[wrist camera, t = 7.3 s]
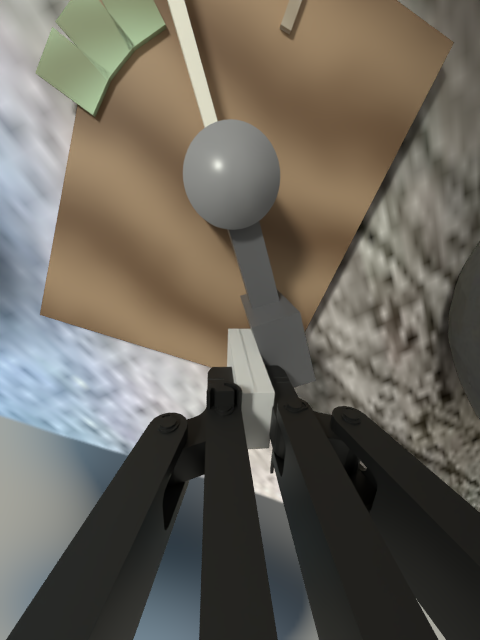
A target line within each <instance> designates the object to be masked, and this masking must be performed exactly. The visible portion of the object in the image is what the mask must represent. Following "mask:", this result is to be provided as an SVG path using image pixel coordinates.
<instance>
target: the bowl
mask: <svg viewBox="0 0 480 640" xmlns="http://www.w3.org/2000/svg"><path fill="white" fill-rule="evenodd" d="M448 340H449V344H450V348H451V353H452V357H453V361H454V365H455V368H456V371H457V374H458V377H459V379H460V382H461V385H462V387H463V389H464V391H465V393H466V395H467V398H468V400H469V402H470V404H471V406H472V408H473V410H474V411H475V413H476V415H477V417H478V418H479V419H480V241H479V243H478V244H477V246H476V247H475V249H474V250H473V252H472V253H471V255H470V256H469V258H468V260H467V261H466V263H465V265H464V267H463V268H462V271H461V273H460V276H459V278H458V281H457V283H456V287H455V291H454V295H453V299H452V303H451V307H450V311H449V324H448Z"/></svg>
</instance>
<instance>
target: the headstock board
mask: <svg viewBox="0 0 480 640" xmlns="http://www.w3.org/2000/svg"><path fill="white" fill-rule="evenodd" d="M184 1H185V5H186V8H187V12H188V16H189V19H190V23H191V27H192V30H193V34H194V37H195V41H196V45H197V48H198V52H199V56H200V59H201V63H202V67H203V70H204V74H205V78H206V81H207V85H208V88H209V92H210V96H211V99H212V103H213V107H214V110H215V114H216V118H217V121H221V120H228V119H233V120H240V121H244V122H246V123H249V124H251V125H253V126H254V127H256V128H257V129H259V130H260V131H261V132H262V133H263V134H264V135H265V136H266V137H267V138H268V140H269V141H270V142H271V144H272V146H273V148H274V149H275V152H276V154H277V157H278V161H279V166H280V186H279V191H278V194H277V197H276V200H275V202H274V204H273V206H272V207H271V209H270V210H269V212H268V213H267V214H266V215H265V216H264V217H263V218H262V219H261V220H259V222H260V226H261V230H262V234H263V238H264V242H265V246H266V250H267V253H268V257H269V261H270V265H271V269H272V273H273V277H274V281H275V285H276V289H277V290H278V291H279V292H280V293H281V294H282V295H283V296H284V297H285V298H286V299H287V300H288V301H289V302H290V303H291V304H292V305H293V306H294V307H295V308H296V309H297V310H298V311H299V312H300V314H301V319H302V323H303V327H304V332H305V331H306V329H307V327H308V325H309V323H310V321H311V319H312V317H313V315H314V313H315V311H316V309H317V307H318V305H319V303H320V301H321V300H322V298H323V296H324V294H325V292H326V290H327V288H328V286H329V284H330V282H331V280H332V278H333V276H334V274H335V272H336V270H337V268H338V267H339V265H340V263H341V261H342V259H343V257H344V255H345V253H346V251H347V249H348V247H349V245H350V243H351V241H352V239H353V237H354V235H355V234H356V232H357V230H358V228H359V226H360V224H361V222H362V220H363V218H364V216H365V214H366V212H367V210H368V208H369V206H370V204H371V203H372V201H373V199H374V197H375V195H376V193H377V191H378V189H379V187H380V185H381V183H382V181H383V179H384V177H385V175H386V173H387V171H388V170H389V168H390V166H391V164H392V162H393V160H394V158H395V156H396V154H397V152H398V150H399V148H400V146H401V144H402V142H403V140H404V138H405V137H406V135H407V133H408V131H409V129H410V127H411V125H412V123H413V121H414V119H415V117H416V115H417V113H418V111H419V109H420V107H421V106H422V104H423V102H424V100H425V98H426V96H427V94H428V92H429V90H430V88H431V86H432V84H433V82H434V80H435V78H436V76H437V74H438V73H439V71H440V69H441V67H442V65H443V63H444V61H445V59H446V57H447V55H448V53H449V51H450V49H451V47H452V45H453V43H454V42H453V41H451V40H450V39H449V38H447V37H446V36H444V35H443V34H442V33H440V32H439V31H438V30H436V29H435V28H434V27H432V26H431V25H429V24H428V23H427V22H425V21H424V20H423V19H421V18H420V17H419V16H417V15H416V14H415V13H413V12H412V11H410V10H409V9H408V8H406V7H405V6H404V5H402V4H401V3H400V2H398V1H397V0H184ZM55 22H56V23H57V24H58V25H59V27H60V28H61V29H62V30H63V31H64V32H65V33H66V35H67V36H68V37H69V38H70V39H71V40H72V41H73V43H74V44H75V45H76V46H75V45H74V44H73V43H72V42H70V41H69V40H68V39H67V38H65V37H64V36H63V35H62V34H60V33H59V32H58V31H56V30H55V29H54V28H53V27H52V30H51V32H50V35H49V38H48V40H47V43H46V46H45V49H44V51H43V54H42V57H41V59H40V62H39V65H38V67H37V70H36V74H37V75H38V76H40V77H41V78H42V79H44V80H45V81H46V82H48V83H49V84H51V85H52V86H53V87H55V88H56V89H57V90H59V91H60V92H61V93H63V94H64V95H66V96H67V97H68V98H70V99H71V100H72V101H74V102H75V103H76V104H78V106H77V111H76V117H75V123H74V128H73V134H72V139H71V145H70V150H69V156H68V161H67V167H66V173H65V178H64V184H63V189H62V195H61V200H60V206H59V211H58V217H57V223H56V228H55V234H54V239H53V245H52V250H51V256H50V261H49V267H48V273H47V278H46V284H45V289H44V295H43V300H42V306H41V311H40V315H42V316H46V317H49V318H52V319H55V320H59V321H62V322H65V323H69V324H72V325H75V326H78V327H82V328H85V329H88V330H91V331H95V332H98V333H101V334H104V335H108V336H111V337H114V338H117V339H121V340H124V341H127V342H130V343H134V344H137V345H140V346H144V347H147V348H150V349H153V350H157V351H160V352H163V353H166V354H170V355H173V356H176V357H179V358H183V359H186V360H189V361H192V362H196V363H199V364H202V365H205V366H209V367H227V351H228V329H250V326H249V323H248V320H247V316H246V313H245V310H244V307H243V304H242V300H241V297H240V296H241V295H244V294H247V293H246V290H245V287H244V283H243V280H242V277H241V273H240V270H239V267H238V263H237V260H236V257H235V253H234V250H233V247H232V244H231V240H230V237H229V234H228V230H227V229H223V228H219V227H216V226H214V225H212V224H210V223H209V222H207V221H206V220H205V219H203V218H202V217H201V216H200V215H199V214H198V213H197V212H196V210H195V209H194V208H193V206H192V205H191V203H190V201H189V199H188V196H187V194H186V191H185V187H184V181H183V164H184V159H185V156H186V153H187V150H188V148H189V146H190V144H191V142H192V141H193V139H194V138H195V137H196V135H197V134H198V133H199V132H200V131H201V130H203V129H204V125H203V121H202V118H201V114H200V111H199V107H198V104H197V101H196V97H195V94H194V90H193V87H192V83H191V80H190V77H189V73H188V70H187V66H186V63H185V60H184V56H183V53H182V49H181V46H180V42H179V39H178V36H177V32H176V29H175V25H174V22H173V18H172V15H171V12H170V8H169V5H168V1H167V0H71V1H70V2H69V3H68V5H67V6H66V7H65V9H64V10H63V12H62V13H61V14H60V16H59V17H58V19H57V20H56V21H55Z"/></svg>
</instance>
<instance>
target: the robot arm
mask: <svg viewBox="0 0 480 640" xmlns="http://www.w3.org/2000/svg"><path fill="white" fill-rule="evenodd" d="M270 440H271V443H272V447H273V449H272V458H271V467H270V473H273V471H274V468H275V472H276V476H277V480H278V484H279V488H280V491H281V495H282V499H283V503H284V507H285V511H286V514H287V518H288V522H289V526H290V530H291V534H292V538H293V541H294V545H295V549H296V553H297V557H298V561H299V564H300V568H301V572H302V576H303V580H304V584H305V588H306V591H307V595H308V599H309V603H310V606H311V610H312V614H313V618H314V622H315V626H316V630H317V633H318V637H319V640H438V638H437V636H436V635H435V633H434V631H433V629H432V627H431V625H430V623H429V622H428V620H427V618H426V616H425V614H424V613H423V611H422V609H421V607H420V605H421V606H422V607H423V609H424V610H425V611H426V613H427V614H428V615H429V617H430V618H431V619H432V621H433V622H434V624H435V625H436V626H437V628H438V629H439V630H440V632H441V633H442V634H443V636H444V637H445V639H446V640H480V513H479V512H478V511H477V510H476V509H475V508H474V507H472V506H471V505H470V504H469V503H468V502H467V501H465V500H464V499H463V498H462V497H461V496H460V495H458V494H457V493H456V492H455V491H454V490H453V489H451V488H450V487H449V486H448V485H447V484H446V483H444V482H443V481H442V480H441V479H440V478H439V477H437V476H436V475H435V474H434V473H433V472H432V471H430V470H429V469H428V468H427V467H426V466H425V465H423V464H422V463H421V462H420V461H419V460H418V459H416V458H415V457H414V456H413V455H412V454H411V453H409V452H408V451H407V450H406V449H405V448H403V447H402V446H401V445H400V444H399V443H398V442H396V441H395V440H394V439H393V438H392V437H391V436H389V435H388V434H387V433H386V432H385V431H384V430H382V429H381V428H380V427H379V426H378V425H377V424H375V423H374V422H373V421H372V420H371V419H370V418H368V417H367V416H366V415H365V414H364V413H362V412H361V411H359V410H357V409H354V408H352V407H347V406H340V407H337V408H335V409H334V410H333V412H332V415H328V414H323V413H318V412H315V411H313V410H312V408H311V407H310V405H309V404H308V403H307V402H305V401H304V400H302V399H299V398H298V396H297V394H296V392H295V390H294V388H293V386H292V384H291V383H290V380H289V378H288V376H287V374H286V372H285V370H283V369H282V368H281V367H280V366H278V365H270V366H265V365H264V363H263V360H262V358H261V355H260V353H259V350H258V347H257V344H256V342H255V339H254V337H253V334H252V331H251V329H228V351H227V367H212V368H211V369H210V370H209V372H208V389H207V407H206V409H205V411H204V412H203V413H201V414H200V415H198V416H196V417H194V418H191V419H187V420H186V418H185V417H184V416H183V415H181V414H178V413H165V414H161V415H159V416H158V417H156V418H154V419H153V420H152V421H151V422H150V424H149V425H148V427H147V428H146V430H145V431H144V433H143V434H142V436H141V437H140V439H139V440H138V442H137V443H136V445H135V446H134V448H133V449H132V451H131V452H130V454H129V455H128V457H127V459H126V460H125V461H124V463H123V464H122V466H121V467H120V469H119V470H118V472H117V474H116V475H115V477H114V478H113V480H112V481H111V483H110V484H109V486H108V487H107V489H106V490H105V492H104V493H103V495H102V496H101V498H100V499H99V501H98V502H97V504H96V505H95V507H94V508H93V510H92V511H91V513H90V514H89V516H88V517H87V519H86V520H85V522H84V523H83V525H82V526H81V528H80V529H79V531H78V532H77V534H76V535H75V537H74V538H73V540H72V541H71V543H70V544H69V546H68V548H67V549H66V550H65V552H64V553H63V555H62V556H61V558H60V559H59V561H58V562H57V564H56V565H55V567H54V568H53V570H52V571H51V573H50V574H49V576H48V578H47V579H46V580H45V582H44V583H43V585H42V586H41V588H40V589H39V591H38V593H37V594H36V596H35V597H34V599H33V600H32V602H31V603H30V604H29V606H28V608H27V609H26V611H25V612H24V614H23V615H22V617H21V618H20V620H19V621H18V623H17V624H16V626H15V627H14V629H13V630H12V632H11V633H10V635H9V636H8V638H7V639H6V640H133V638H134V636H135V633H136V630H137V627H138V624H139V621H140V619H141V616H142V613H143V610H144V607H145V605H146V602H147V599H148V596H149V593H150V591H151V588H152V585H153V582H154V579H155V576H156V573H157V571H158V568H159V565H160V562H161V560H162V557H163V554H164V551H165V548H166V545H167V543H168V540H169V537H170V534H171V531H172V528H173V526H174V523H175V520H176V517H177V514H178V512H179V509H180V506H181V503H182V500H183V497H184V495H185V491H186V489H187V486H188V483H189V480H190V479H193V478H195V477H198V476H201V475H204V474H205V477H204V509H203V540H202V571H201V604H200V634H199V636H200V637H199V640H278V639H277V632H276V626H275V620H274V613H273V607H272V601H271V594H270V588H269V582H268V575H267V569H266V563H265V556H264V550H263V544H262V537H261V531H260V525H259V518H258V512H257V505H256V499H255V493H254V486H253V480H252V474H251V467H250V461H249V455H248V449H262V448H269V443H270ZM360 460H361V462H362V463H363V464H364V465H365V466H366V467H367V469H365V468H364V467H363V466H362V465H361V464H360ZM416 599H417V600H418V602H419V603H420V605H419V603H418V602H417V600H416Z"/></svg>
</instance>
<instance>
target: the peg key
mask: <svg viewBox="0 0 480 640" xmlns="http://www.w3.org/2000/svg"><path fill="white" fill-rule="evenodd" d="M167 1H168V5H169V8H170V12H171V15H172V18H173V22H174V25H175V29H176V32H177V36H178V39H179V42H180V46H181V49H182V53H183V56H184V60H185V63H186V66H187V70H188V73H189V77H190V80H191V83H192V87H193V90H194V94H195V97H196V101H197V104H198V107H199V111H200V114H201V118H202V121H203V125H204V129H203V130H201V131H200V132H199V133H198V134H197V135H196V137H195V138H194V139H193V141H192V142H191V144H190V146H189V148H188V150H187V153H186V156H185V159H184V164H183V181H184V187H185V191H186V194H187V196H188V199H189V201H190V203H191V205H192V206H193V208H194V209H195V210H196V212H197V213H198V214H199V215H200V216H201V217H202V218H203V219H205V220H206V221H207V222H209V223H210V224H212V225H214V226H216V227H219V228H223V229H227V230H228V234H229V237H230V240H231V244H232V247H233V250H234V253H235V257H236V260H237V263H238V267H239V270H240V273H241V277H242V280H243V283H244V287H245V290H246V293H247V294H244V295H241V296H240V297H241V300H242V304H243V307H244V310H245V313H246V316H247V320H248V323H249V326H250V329H251V331H252V334H253V337H254V339H255V342H256V344H257V347H258V350H259V353H260V355H261V358H262V360H263V363H264V365H265V366H270V365H278V366H280V367H281V368H282V369H283V370H285V372H286V374H287V376H288V378H289V380H290V383H291V384H292V386H293V388H294V387H297V386H300V385H304V384H307V383H310V382H313V381H316V379H315V375H314V371H313V366H312V362H311V358H310V353H309V349H308V345H307V340H306V336H305V332H304V327H303V323H302V319H301V314H300V312H299V311H298V310H297V309H296V308H295V307H294V306H293V305H292V304H291V303H290V302H289V301H288V300H287V299H286V298H285V297H284V296H283V295H282V294H281V293H280V292H279V291H278V290H277V289H276V285H275V281H274V277H273V273H272V269H271V265H270V261H269V257H268V253H267V250H266V246H265V242H264V238H263V234H262V230H261V226H260V222H259V220H261V219H262V218H263V217H264V216H265V215H266V214H267V213H268V212H269V210H270V209H271V207H272V206H273V204H274V202H275V200H276V197H277V194H278V191H279V186H280V166H279V161H278V157H277V154H276V152H275V149H274V148H273V146H272V144H271V142H270V141H269V140H268V138H267V137H266V136H265V135H264V134H263V133H262V132H261V131H260V130H259V129H257V128H256V127H254V126H253V125H251V124H249V123H246V122H244V121H240V120H233V119H228V120H221V121H217V118H216V114H215V110H214V107H213V103H212V99H211V96H210V92H209V88H208V85H207V81H206V78H205V74H204V70H203V67H202V63H201V59H200V56H199V52H198V48H197V45H196V41H195V37H194V34H193V30H192V27H191V23H190V19H189V16H188V12H187V8H186V5H185V1H184V0H167Z"/></svg>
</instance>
